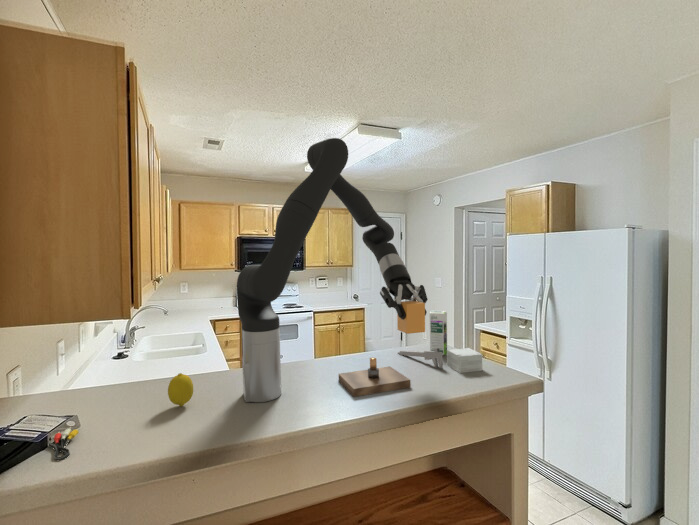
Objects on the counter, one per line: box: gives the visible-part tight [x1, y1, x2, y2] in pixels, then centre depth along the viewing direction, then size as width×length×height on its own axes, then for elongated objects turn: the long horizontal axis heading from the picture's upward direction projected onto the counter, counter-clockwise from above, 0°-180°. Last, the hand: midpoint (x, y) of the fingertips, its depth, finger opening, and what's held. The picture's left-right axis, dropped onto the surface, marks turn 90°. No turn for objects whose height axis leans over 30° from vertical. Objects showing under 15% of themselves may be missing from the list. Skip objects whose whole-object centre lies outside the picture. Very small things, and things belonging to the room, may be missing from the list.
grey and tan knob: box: [367, 357, 379, 379], centre depth 98 cm, size 3×3×5 cm
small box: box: [446, 347, 483, 374], centre depth 110 cm, size 8×8×5 cm
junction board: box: [338, 365, 412, 398], centre depth 98 cm, size 16×12×2 cm
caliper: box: [397, 348, 444, 370], centre depth 118 cm, size 20×1×6 cm, turn 32°
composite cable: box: [48, 426, 80, 461], centre depth 69 cm, size 10×5×2 cm, turn 28°
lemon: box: [167, 372, 194, 407], centre depth 86 cm, size 6×6×8 cm
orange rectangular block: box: [396, 300, 426, 335], centre depth 102 cm, size 6×6×8 cm
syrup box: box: [429, 310, 448, 356], centre depth 126 cm, size 6×6×14 cm
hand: (414, 316), depth 100 cm, fingers closed on orange rectangular block, 5 cm apart
